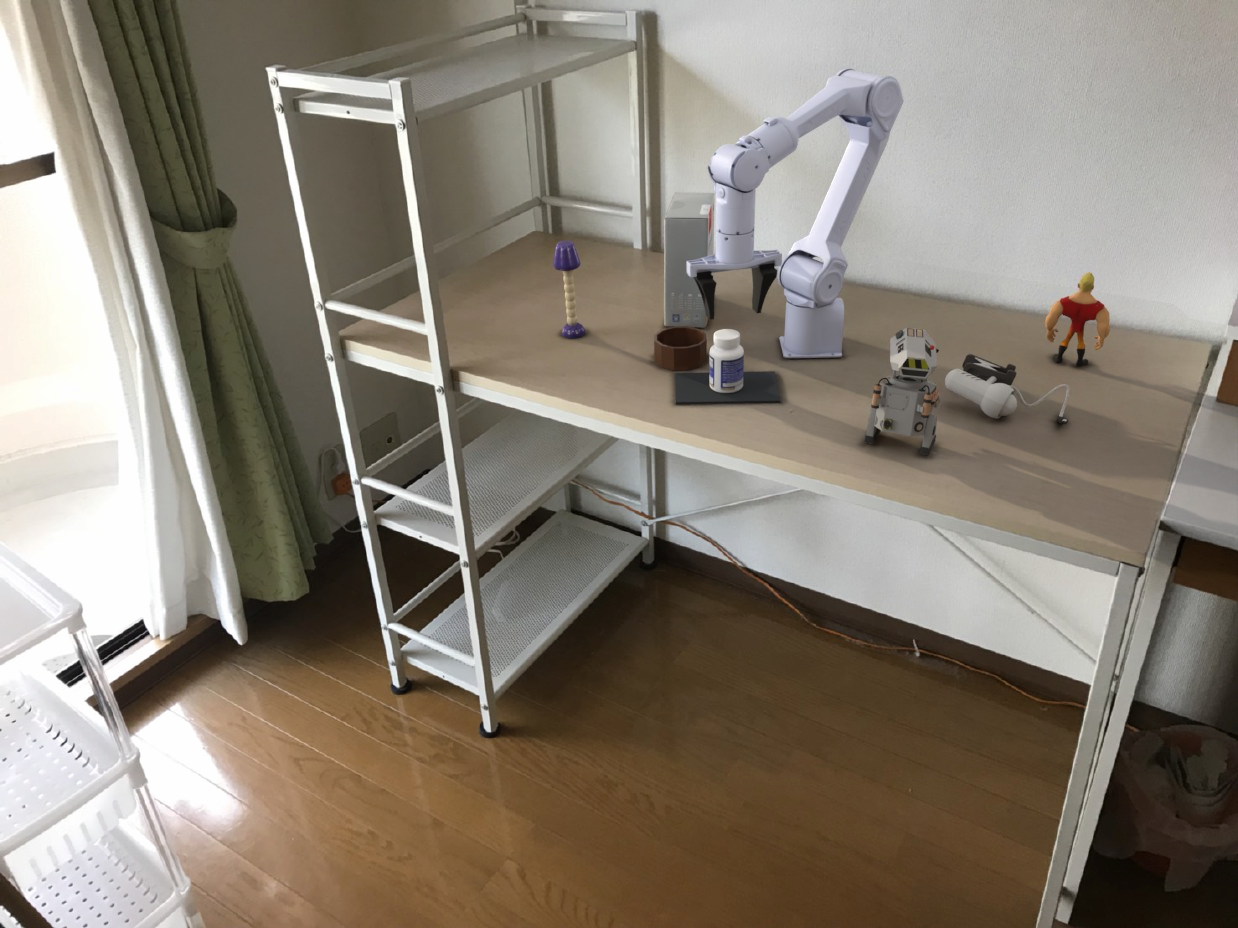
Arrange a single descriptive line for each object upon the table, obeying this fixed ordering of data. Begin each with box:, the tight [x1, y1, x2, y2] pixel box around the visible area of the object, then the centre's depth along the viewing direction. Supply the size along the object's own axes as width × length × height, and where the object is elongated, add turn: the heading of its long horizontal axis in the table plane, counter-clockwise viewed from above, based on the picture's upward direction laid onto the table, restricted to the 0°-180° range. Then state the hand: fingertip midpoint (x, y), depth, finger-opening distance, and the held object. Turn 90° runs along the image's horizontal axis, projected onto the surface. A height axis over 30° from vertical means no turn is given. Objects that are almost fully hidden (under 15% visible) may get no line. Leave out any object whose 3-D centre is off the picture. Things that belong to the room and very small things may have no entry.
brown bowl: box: [653, 326, 708, 371], centre depth 164 cm, size 9×9×4 cm
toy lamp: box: [552, 240, 586, 339], centre depth 171 cm, size 5×5×17 cm
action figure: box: [1044, 272, 1111, 368], centre depth 155 cm, size 10×4×15 cm, turn 59°
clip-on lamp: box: [944, 353, 1071, 425], centre depth 145 cm, size 12×6×18 cm
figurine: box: [863, 327, 942, 456], centre depth 137 cm, size 9×12×15 cm
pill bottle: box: [708, 328, 745, 393], centre depth 153 cm, size 5×5×9 cm
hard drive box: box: [663, 191, 716, 329], centre depth 177 cm, size 16×8×20 cm, turn 171°
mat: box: [674, 370, 782, 405], centre depth 155 cm, size 16×10×1 cm, turn 88°
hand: (733, 314), depth 154 cm, fingers open, 7 cm apart
